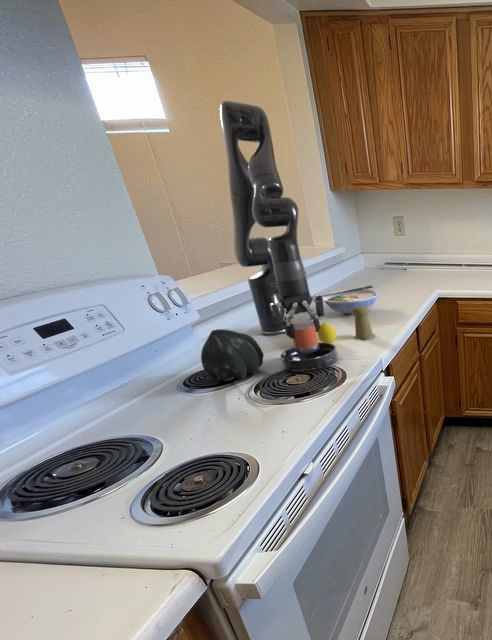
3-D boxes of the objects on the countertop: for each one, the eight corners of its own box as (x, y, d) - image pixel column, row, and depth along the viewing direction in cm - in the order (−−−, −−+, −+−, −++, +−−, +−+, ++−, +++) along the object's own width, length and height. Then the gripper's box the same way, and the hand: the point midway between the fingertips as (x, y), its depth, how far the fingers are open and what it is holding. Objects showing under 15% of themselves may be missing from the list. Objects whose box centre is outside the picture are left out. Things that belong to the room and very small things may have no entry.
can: (292, 350, 122) (285, 320, 119) (314, 344, 126) (307, 315, 123) (301, 355, 118) (294, 325, 114) (323, 349, 122) (317, 320, 119)
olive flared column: (368, 340, 142) (363, 309, 137) (352, 339, 143) (346, 308, 139) (376, 334, 147) (371, 304, 143) (361, 334, 148) (355, 303, 144)
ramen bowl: (335, 324, 161) (331, 303, 158) (315, 313, 177) (310, 294, 173) (393, 311, 176) (391, 292, 172) (369, 302, 192) (367, 284, 188)
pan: (276, 364, 124) (272, 352, 122) (325, 351, 134) (322, 339, 132) (296, 378, 114) (292, 365, 113) (347, 362, 124) (344, 350, 122)
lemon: (321, 349, 135) (316, 325, 132) (319, 344, 140) (314, 321, 137) (339, 346, 138) (334, 322, 134) (336, 341, 142) (332, 318, 139)
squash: (272, 343, 125) (222, 312, 116) (273, 361, 113) (218, 328, 104) (241, 378, 125) (189, 350, 116) (239, 400, 113) (180, 371, 104)
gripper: (311, 271, 120) (322, 326, 127) (258, 279, 111) (273, 338, 118) (322, 274, 116) (334, 331, 123) (267, 283, 106) (283, 344, 113)
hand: (304, 334), depth 120 cm, fingers closed on can, 6 cm apart
